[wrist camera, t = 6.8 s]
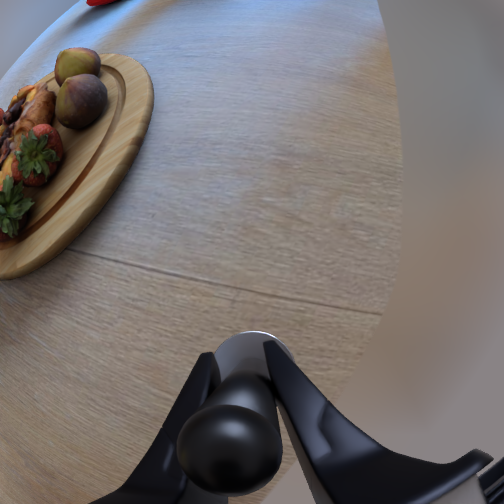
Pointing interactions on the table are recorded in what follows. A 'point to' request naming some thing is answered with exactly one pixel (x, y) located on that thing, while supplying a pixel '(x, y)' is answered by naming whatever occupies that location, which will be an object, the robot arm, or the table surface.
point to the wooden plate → (67, 152)
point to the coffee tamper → (235, 423)
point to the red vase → (98, 2)
